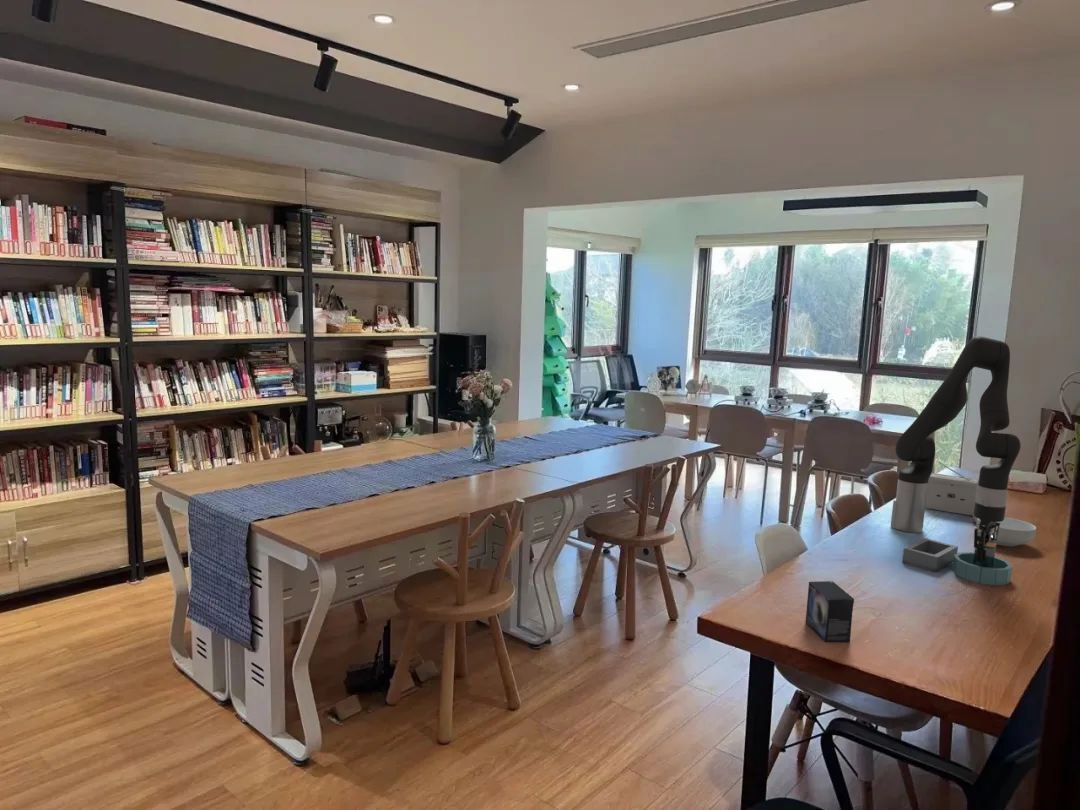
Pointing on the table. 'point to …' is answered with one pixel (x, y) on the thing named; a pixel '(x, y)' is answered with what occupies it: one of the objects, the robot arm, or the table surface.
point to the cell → (987, 554)
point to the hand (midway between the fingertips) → (983, 559)
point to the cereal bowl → (1014, 532)
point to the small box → (829, 611)
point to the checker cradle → (929, 554)
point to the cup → (982, 570)
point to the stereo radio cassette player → (951, 493)
